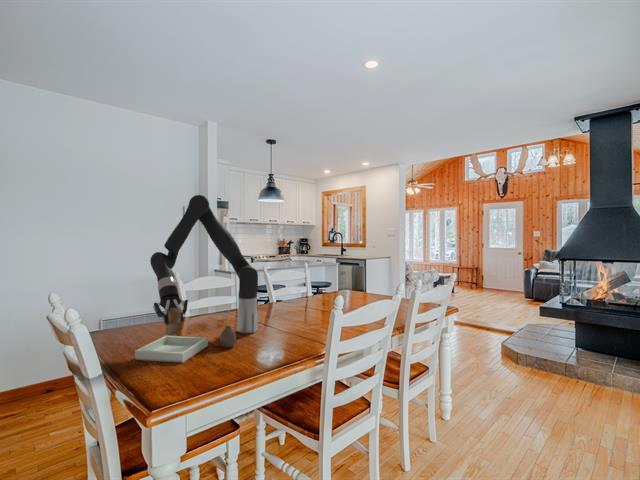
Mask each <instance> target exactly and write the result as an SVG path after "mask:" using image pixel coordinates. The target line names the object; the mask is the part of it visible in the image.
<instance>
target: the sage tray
mask: <svg viewBox="0 0 640 480" xmlns="http://www.w3.org/2000/svg"><path fill="white" fill-rule="evenodd" d="M208 341H209V338H208V337H196V336H195V337H194V336H178V335H176V336H175V335H164V336H163V337H160V338H158V339H156V340H154V341H152V342H150V343H148V344H146V345H144V346H141V347H139V348H138V349H136V350H134V353H135V354H134V360H137V361H150V362H152V361H153V362H163V363H164V362H165V363H166V362H167V363H180V364H182V363H185V362H186V361H188V360H190V359H191V358H192V357H194V356H195V355H196V354H199V352H201V351H203V350H204V349H205V348H207V347H209V345H208V344H209V342H208Z"/></svg>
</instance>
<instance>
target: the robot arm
mask: <svg viewBox="0 0 640 480" xmlns="http://www.w3.org/2000/svg"><path fill="white" fill-rule="evenodd" d="M198 221H199V222H200V223H201V224H202V226H203V227H204V229H205V231H206V232H207V234H208V235H209V238H210V240H211V241H212V243H213V244H214V246H215V247H216V248H217V250H218V251H219V253H220V254H222V256H223V257H224V258H225V259H226V260H227V261H228V262H229V263H230V265H231V267H232V268H233V270H234V272H235V274H236V275H237V277H238V279H239V280H238V281H239V282H238V283H239V284H238V287H239V289H238V299H237V301H238V302H237V303H238V304H237V305H238V313H237V315H238V316H237V317H238V318H237V319H238V320H237V324H238V325H237V326H238V327H237V328H238V329H237V332H239V334H240V333H241V334H254V333H256V332H257V331H258V330H259V311H257V309H258V304H257V303H258V290H259V287H258V286H259V274H258V271H257V270H256V268H255V267H253V266H252V265H251V264H250V263H249V262H248V261H247V260H246V258H245V257H244V255H243V254H242V252H241V249H240V248H239V245H238V244H237V241H236V240H235V239H234V237H233V235H232V234H231V233H230V231H229V230H228V229H227V227H225V225H224V224H223V223H222V222H220V220H219V219H218V218H217V217H216V215H215V214H214V212H213V210H212V209H211V207H210V201H209V199H208V198H207V197H206V196H205V195H202V194H197V195H194V196H192V197H191V198H190V199H189V201H188V205H187V208H186V210H185V212H184V214H183V216H182V218H181V220H180V221H179V222H178V223H177V225H176V226H175V228H174V229H173V231H172V232H171V234H170V235H169V236H168V238H167V240H166V241H165V243H164V248H165V249H166V250H167V252H168V253H167V254H166V253H163V252H160V251H156V252H154V253H153V254H152V255H151V257H150V259H149V260H150V261H149V262H150V265H151V268H152V270H153V273H154V274H155V276H156V280H157V291H158V295H159V302H154V303H153V306H152V307H153V310H154V311H155V313H156V315H157V317H158V318H163V323H164V325H165V326H166V325H168V324H169V319H168V315H167V309H169V308H179V309H181V324H182V323H183V322H184V315H186V313H187V310H188V302H189V300H188V299H185V300H183V299H181V298H180V293H179V290H178V285H177V282H176V278H175V275H174V274H175V273H174V271H173V268H174V266H175V265H176V262H177V258H178V255H179V252H180V250H181V249H182V247H183V246H184V243H185V242H186V240H187V239H188V237H189V236H190V233H191V231H192V230H193V227H194V226H195V224H196V223H197V222H198ZM180 305H181V306H182V308H183V309H182V308H181V306H180ZM161 308H163V309H164V311H162V309H161Z"/></svg>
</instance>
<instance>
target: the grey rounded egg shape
mask: <svg viewBox="0 0 640 480" xmlns="http://www.w3.org/2000/svg"><path fill="white" fill-rule="evenodd" d="M236 341H237V335H236V332H235V330H234V329H233V328H232V326H231V325H226V326H225V327H224V329H223V330H222V331H221V333H220V336H219V343H220V345H221V347H223V348H226V349H229V348H232V347H233V346H234V345H235V344H236Z"/></svg>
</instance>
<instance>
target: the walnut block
mask: <svg viewBox="0 0 640 480" xmlns="http://www.w3.org/2000/svg"><path fill="white" fill-rule="evenodd" d="M181 310H182V308H181V309H179V308H169V309H167V315H168V319H169V324H168V325H166V324H165V333H166V334H167V336H175V335H181V328H182V326H181V325H182V323H181Z"/></svg>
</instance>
